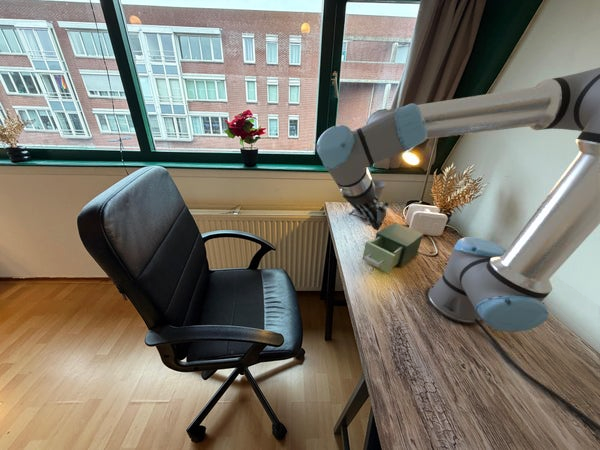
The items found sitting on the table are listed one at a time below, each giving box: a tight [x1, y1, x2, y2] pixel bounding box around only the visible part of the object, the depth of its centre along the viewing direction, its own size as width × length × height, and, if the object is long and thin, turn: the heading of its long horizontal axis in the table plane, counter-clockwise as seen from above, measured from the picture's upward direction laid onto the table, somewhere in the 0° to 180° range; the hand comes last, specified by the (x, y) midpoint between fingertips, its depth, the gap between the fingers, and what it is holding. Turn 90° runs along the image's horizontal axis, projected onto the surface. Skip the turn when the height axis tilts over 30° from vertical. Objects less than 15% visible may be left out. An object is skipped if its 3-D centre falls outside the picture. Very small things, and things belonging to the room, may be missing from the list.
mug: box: [349, 166, 387, 226], centre depth 126 cm, size 19×15×25 cm
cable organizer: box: [404, 203, 449, 237], centre depth 118 cm, size 15×11×12 cm
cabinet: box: [374, 222, 425, 268], centre depth 100 cm, size 15×13×10 cm
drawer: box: [362, 236, 405, 275], centre depth 93 cm, size 18×11×8 cm, turn 133°
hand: (378, 226), depth 76 cm, fingers closed
